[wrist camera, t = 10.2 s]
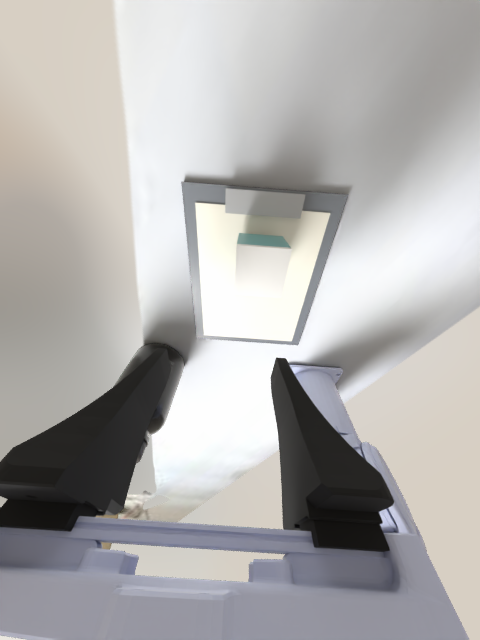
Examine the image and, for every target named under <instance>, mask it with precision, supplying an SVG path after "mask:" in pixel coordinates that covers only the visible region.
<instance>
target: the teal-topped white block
mask: <svg viewBox="0 0 480 640" xmlns="http://www.w3.org/2000/svg"><path fill="white" fill-rule="evenodd" d="M291 252H292V249H291V247H290V246H289V244H288V243H287V242H286V240H285V239H284V237H283V236H273V235H260V234H246V233H239V236H238V241H237V248H236V268H235V288H234V295H244V296H258V297H272V298H282V293H283V288H284V284H285V279H286V275H287V270H288V266H289V261H290V256H291Z"/></svg>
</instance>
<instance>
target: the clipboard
mask: <svg viewBox="0 0 480 640" xmlns="http://www.w3.org/2000/svg"><path fill="white" fill-rule="evenodd" d="M182 192H183V203H184V213H185V224H186V234H187V244H188V255H189V265H190V276H191V286H192V296H193V307H194V317H195V327H196V338H202V339H217V340H231V341H245V342H259V343H274V344H288V345H298V344H299V341H300V338H301V335H302V332H303V329H304V326H305V323H306V320H307V317H308V314H309V311H310V308H311V305H312V302H313V299H314V296H315V293H316V290H317V287H318V284H319V281H320V278H321V275H322V272H323V269H324V266H325V263H326V260H327V257H328V254H329V251H330V248H331V245H332V242H333V239H334V236H335V233H336V230H337V227H338V224H339V221H340V218H341V215H342V212H343V209H344V206H345V203H346V200H347V197H348V195H345V194H333V193H320V192H307V191H294V190H281V189H268V188H256V187H243V186H230V185H217V184H204V183H191V182H182ZM239 233H246V234H260V235H273V236H283V237H284V239H285V240H286V242H287V243H288V244H289V246H290V247H291V249H292V252H291V256H290V261H289V266H288V270H287V275H286V279H285V284H284V288H283V293H282V298H272V297H258V296H244V295H234V288H235V268H236V248H237V241H238V236H239Z"/></svg>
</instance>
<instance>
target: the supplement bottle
mask: <svg viewBox="0 0 480 640" xmlns="http://www.w3.org/2000/svg"><path fill="white" fill-rule="evenodd" d="M157 348H161V349H167V353H168V358H169V362H170V367H171V371H170V375H169V378H168V381H167V384H166V387H165V389H164V391H163V393H162V396H161V398H160V400H159V402H158V405H157V407H156V409H155V411H154V413H153V416H152V418H151V420H150V423H149V425H148V428H147V431H146V434H145V437H144V440H143V443H142V446H141V449H140V452H139V455H138V458H137V462H136V463H138V462H139V461H140V460H141V457H142V455H143V453H144V450H145V447H147V445H148V442H149V438H148V436H149V435H152V434H154V433H156V432H157V431H159V430H160V429H161V428H162V426H163V425H164V423H165V421H166V418H167V415H168V412H169V410H170V407H171V404H172V401H173V398H174V395H175V392H176V389H177V387H178V384H179V381H180V378H181V375H182V372H183V369H184V361H183V358H182V356H181V355H180V354H179V353H178V352H177V351H176V350H175V349H173V348H171V347H169V346H166V345H163V344H147V345H144V346H142V347H141V348H140V349H139V350H138V351H137V352H136V353H135V355H134V356H133V358H132V359H131V361H130V362H129V364H128V365H127V367H126V369H125V370H124V372H123V373H122V375H121V376H120V377H119V379H118V381H117V382H116V384H115V385H117V384H118V383H119V382H120V381H121V380H123V379H124V378H125V377H126V376H127V375H129V374H130V373H131V372H132V371H133V370H134V369H135V368H136V367H138V366H139V365H140V364H141V363H142V362H143V361H144V360H145V359H146V358H147V357H148V356H149V355H150V354H151V353H153V352H154V351H155V350H156V349H157ZM115 385H114V386H115Z"/></svg>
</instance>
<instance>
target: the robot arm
mask: <svg viewBox="0 0 480 640" xmlns="http://www.w3.org/2000/svg"><path fill="white" fill-rule="evenodd" d="M170 371H171V367H170V362H169V358H168V353H167V349H161V348H157V349H156V350H155V351H154V352H153V353H151V354H150V355H149V356H148V357H147V358H146V359H145V360H144V361H143V362H142V363H141V364H140V365H139V366H138V367H136V368H135V369H134V370H133V371H132V372H131V373H130V374H129V375H127V376H126V377H125V378H124V379H123V380H121V381H120V382H119V383H118V384H117V385H115V386H114V387H113V388H112V389H110V390H109V391H108V392H106V393H105V394H104V395H102V396H101V397H99V398H98V399H97V400H95V401H94V402H92V403H91V404H89V405H88V406H86V407H85V408H83V409H82V410H80V411H78V412H77V413H75V414H74V415H72V416H71V417H69V418H67V419H66V420H64V421H62V422H60V423H59V424H57V425H55V426H53V427H52V428H50V429H48V430H46V431H44V432H42V433H41V434H39V435H37V436H35V437H33V438H31V439H29V440H27V441H25V442H23V443H21V444H20V445H18V446H16V447H14V448H12V450H11V451H10V452H9V453H8V454H7V455H6V456H5V457H4V458H3V459H2V461H1V462H0V496H2V497H4V498H7V499H8V500H7V501H6V503H5V504H4V505H3V506H2V507H0V635H1V636H7V637H14V638H21V639H27V640H469V638H468V636H467V634H466V632H465V630H464V628H463V626H462V623H461V621H460V619H459V617H458V615H457V613H456V611H455V609H454V607H453V605H452V603H451V601H450V599H449V597H448V595H447V593H446V591H445V589H444V587H443V585H442V583H441V581H440V579H439V577H438V575H437V573H436V571H435V569H434V567H433V564H432V562H431V560H430V558H429V556H428V554H427V550H426V547H425V544H424V541H423V539H422V536H421V534H420V532H419V530H418V528H417V526H416V524H415V522H414V520H413V518H412V515H411V513H410V510H409V508H408V506H407V504H406V501H405V499H404V497H403V495H402V493H401V491H400V489H399V487H398V485H397V483H396V481H395V480H394V478H393V476H392V474H391V472H390V470H389V468H388V466H387V465H386V463H385V461H384V459H383V458H382V456H381V454H380V453H379V451H378V450H377V448H376V447H374V446H372V445H370V444H369V443H368V442H363V443H361V441H360V440H359V438H358V436H357V434H356V431H355V429H354V427H353V424H352V422H351V420H350V418H349V415H348V414H347V411H346V409H345V407H344V404H343V402H342V400H341V397H340V395H339V393H338V391H337V388H336V386H335V385H336V383H337V381H338V380H339V378H340V376H341V375H342V373H343V370H342V369H341V368H332V367H317V366H303V365H289V363H288V362H287V360H286V359H285V358H276V360H275V364H274V368H273V371H272V375H271V390H272V398H273V404H274V410H275V416H276V422H277V428H278V437H279V450H280V464H281V483H282V508H283V528H284V530H282V529H266V528H251V527H236V526H221V525H206V524H205V525H204V524H190V523H176V522H161V521H146V520H131V519H116V518H101V517H96V516H104V515H116V514H118V513H119V512H120V511H121V510H122V509H123V508H124V504H125V500H126V496H127V492H128V489H129V485H130V482H131V478H132V475H133V472H134V468H135V465H136V462H137V458H138V455H139V452H140V449H141V446H142V443H143V440H144V437H145V434H146V431H147V428H148V425H149V423H150V420H151V418H152V416H153V413H154V411H155V409H156V407H157V405H158V402H159V400H160V398H161V396H162V393H163V391H164V389H165V387H166V384H167V381H168V378H169V375H170ZM100 542H104V543H121V544H136V545H151V546H166V547H183V548H197V549H198V548H199V549H213V550H229V551H230V550H231V551H244V552H260V553H275V554H276V553H277V554H286V555H285V556H284V557H283V560H277V559H272V560H271V559H254V561H253V562H251V563H250V564H249V582H237V581H221V580H205V579H189V578H188V579H187V578H172V577H156V576H140V575H135V569H136V566H137V562H138V559H139V557H138V555H133V554H129V553H126V552H125V551H118V550H108V549H102V543H100Z"/></svg>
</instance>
